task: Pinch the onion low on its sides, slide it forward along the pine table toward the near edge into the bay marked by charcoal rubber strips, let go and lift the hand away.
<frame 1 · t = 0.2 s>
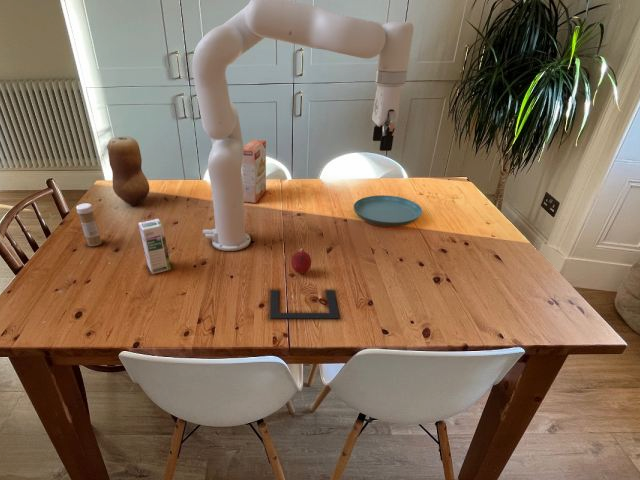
hand: (381, 145, 116), 31 cm above the table, tool pointing down, fingers open, 9 cm apart
butternut squash: (134, 203, 162), on the table
bay: (303, 302, 107), on the table
cracker box: (255, 196, 166), on the table
syrup box: (159, 268, 122), on the table
sprinkles bottle: (94, 244, 134), on the table
onion: (300, 273, 118), on the table
saucer: (386, 216, 150), on the table
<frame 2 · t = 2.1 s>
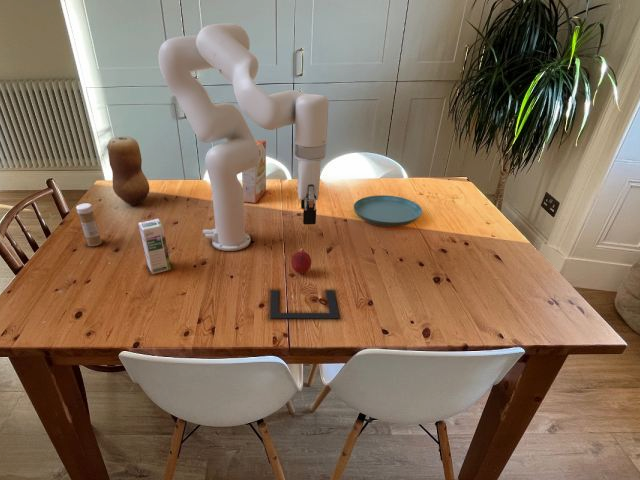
hand: (308, 215, 109), 18 cm above the table, tool pointing down, fingers open, 9 cm apart
nothing on the table moved.
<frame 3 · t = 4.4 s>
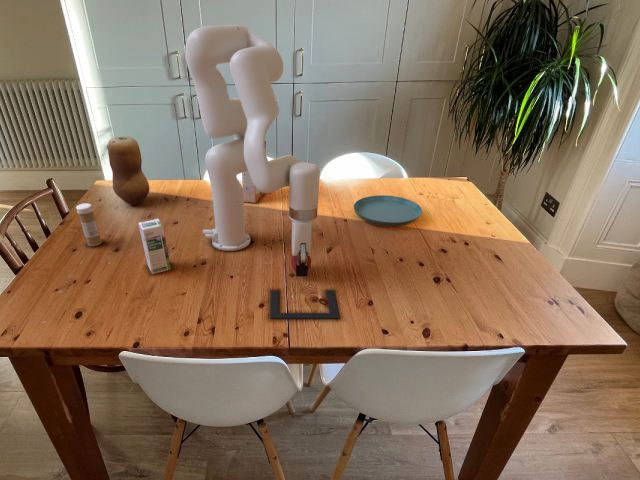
hand: (301, 269, 117), 1 cm above the table, tool pointing down, fingers closed on onion, 6 cm apart
onion: (300, 273, 118), on the table, touching gripper
everything else where it was.
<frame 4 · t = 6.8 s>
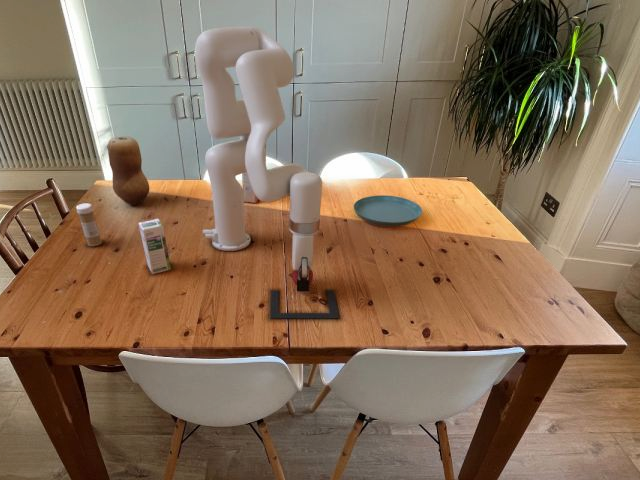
hand: (301, 283, 112), 1 cm above the table, tool pointing down, fingers closed on onion, 5 cm apart
onion: (302, 287, 112), on the table, touching gripper
everything else where it was.
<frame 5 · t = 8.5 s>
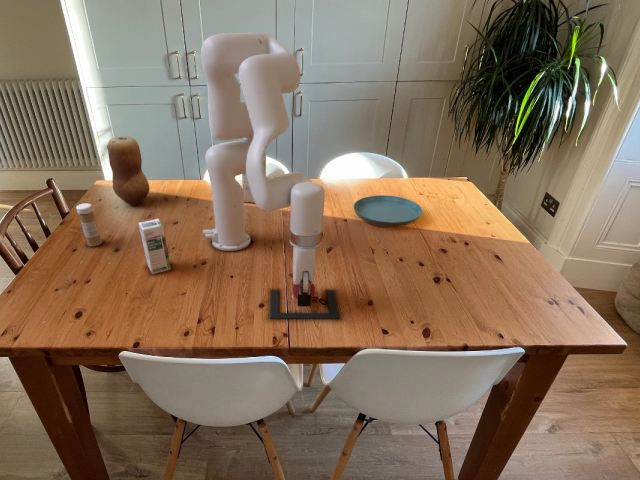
hand: (303, 297, 106), 1 cm above the table, tool pointing down, fingers closed on onion, 5 cm apart
onion: (303, 301, 107), on the table, touching gripper
everything else where it was.
when the fingers open (1 cm above the table, at t = 9.3 s): onion stays where it is, on the table.
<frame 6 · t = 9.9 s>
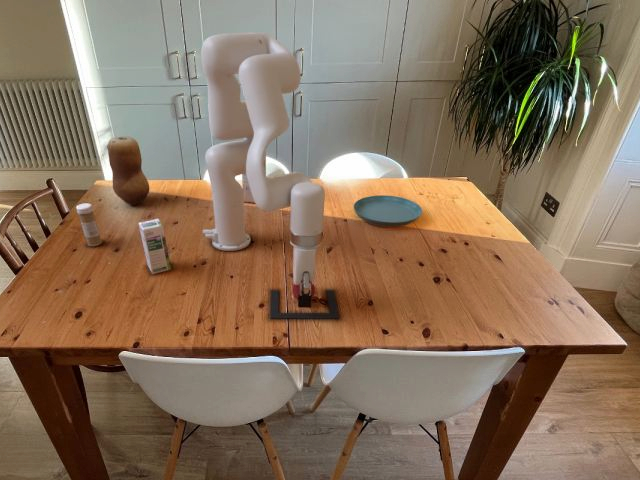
hand: (303, 295, 106), 2 cm above the table, tool pointing down, fingers open, 9 cm apart
onion: (303, 302, 107), on the table
everything else where it was.
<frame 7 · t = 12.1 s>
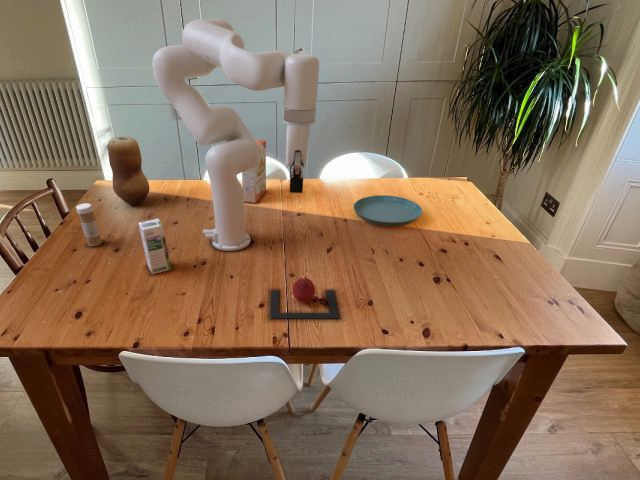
hand: (295, 185, 106), 26 cm above the table, tool pointing down, fingers open, 9 cm apart
nothing on the table moved.
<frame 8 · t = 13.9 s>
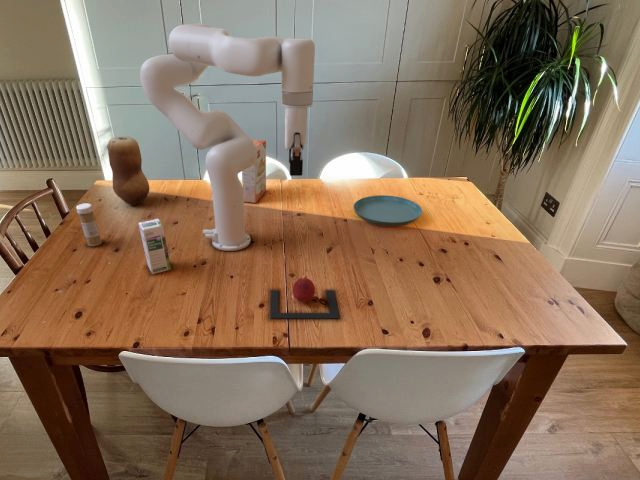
hand: (295, 168, 108), 28 cm above the table, tool pointing down, fingers open, 9 cm apart
nothing on the table moved.
at the end: onion inside the target area on the bay (0.1 cm from its centre), point 0.0 cm above the bay's base; onion moved 13.9 cm from its start; the gripper is holding nothing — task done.
